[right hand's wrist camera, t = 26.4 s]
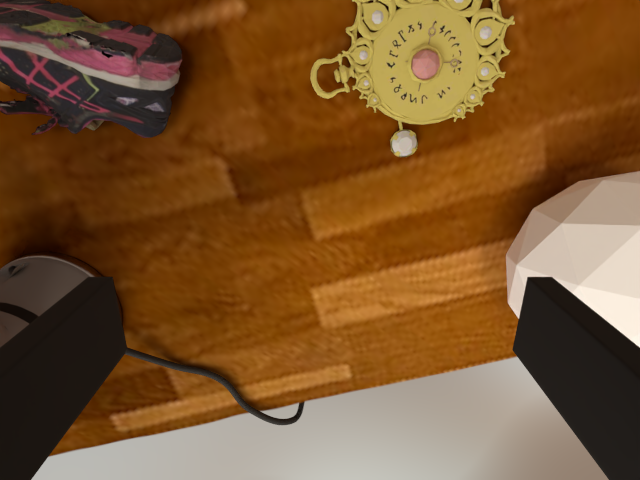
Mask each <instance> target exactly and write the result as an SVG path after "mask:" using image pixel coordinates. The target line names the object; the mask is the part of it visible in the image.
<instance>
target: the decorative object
mask: <svg viewBox="0 0 640 480" xmlns="http://www.w3.org/2000/svg"><path fill="white" fill-rule="evenodd" d="M352 1H354V2H356V3H357V5H358V10H357V15H356V19H355V23H354V24H353V26H352V27H347V28H346V33H347V34H349V35H350V36H351V38H352V44H351V47H350V49H349V50H348V51H347V52H345V51H344V50H343V51H342V53H343V54H342V55H341V54H338V56H337V57H335V58H333V59H325V58H322V59H319V60H317V61H316V62H315V63H314V65H313V67H312V70H311V78H310V79H311V82H312V86H313V88H314V90H315V91H316V93H317V94H318V95H319V96H321V97H323V98H326V99H329V98H331V97H333V96H335V95H336V94H337V93H338V92H343V91H346V92H347V93H348V92H350V89H349V86H348V85H347V84H346V82H347V81H348V79H349V77H351V76H352V77H353V78H354V77H355V78H356V85H355V86H352V87H353V90H355V89H358V90H359V91H360V92H361V96H360V97H359V98H360V99H362V98H364V99H367V103H368V104H367V105H366V106H367V108H368V107H369V106H370V107H373V109H374V112H376V108H378V109H379V110H380V111H381V112H383V113H384V114H386V115H388V116H389V117H391V118H393V119H395V120H398V124H399V129H400V130H399V131H397V132H395V134H394V135H393V137H392V138H391V140H390V144H391V151H392V152H393V153H394V154H395V155H396V156H398V157H408V156H410V155H412V154H413V153H414V152H415V151H416V149H417V145H418V143H417V137H416V135H415V133H414V132H412V131H411V130H405V129H403V128H402V123H401V122H405V123H409V124H430V123H437V122H441V121H443V120H446V119H449V118H452V117H455V119H454V122H455V121H456V119H457V118H458V117H462V119H464V118H465V116H464V115H465V112H466V111H470V112H472V113H473V112H474V109H473V107H474V106H476V105H478V104H480V105H481V106H482V105H483V103H484V102H482V97H483V95H484V94H485V93H487V92H493V91H494V90H495V89H494V88H493V87H492V83H493V82H494V81H495V80H496V79H497V78H498V77H502V78H504V77H505V76H504V74H505V73H506V72H501V71H500V68H499V64H498V62H499V61H500V60H501V58H502V57H504V56H506V55H508V54H509V52H510V50H508V49H507V48H506V47H505V45H504V41H503V39H504V37H505V33H506V29H507V27H508V26H509V25H510V24H515V21H513V18H514V17H513V16H511V17H510V18H509V19H504V18H503V17H502V14H501V8H500V5H499V2H498V1H499V0H491V2H492V5H493V11H492V10H491V9H490V8H484V9H480V6H481V3H482V1H483V0H473V2H472V5H471V7H469V8H468V9H466V10H463V9H465V8H466V7H467V6H468V5H469V4H470V2H471V1H472V0H439V1H434V0H405V1H404V0H373V3H368V2H369V1H370V0H352ZM378 1H380V2H382V3H383V4H385V5H387V6H388V7H389V12H388V11H387V9H386V7H385V6H384V5H382V4H380V3H379V2H378ZM361 2H362V4H361ZM396 5H397V6H398V7H401V8H399V9H398V10H396ZM479 9H480V10H479ZM461 10H462V11H461ZM362 14H363V15H364V16H363V17H362ZM388 16H389V17H388ZM471 16H472V19H471V24H470V23H469V22H468V21H467V19H466V18H465V17H471ZM486 17H492V19H486V20H481V21H479V19H482V18H486ZM495 18H496V21H495ZM363 19H364V22H365V23H366V25H367V26H368V28H369V29H370V30H372V31H377V32H370V31H369V30H368V28H367V27H366V25H365V24H364V22H363V21H362V20H363ZM478 21H479V22H478ZM477 22H478V23H477ZM504 23H505V24H504ZM476 24H477V25H476ZM503 26H504V27H503ZM352 30H353V31H352ZM358 30H359V33H360V34H361V35H362V36H363V38H359V39H357V31H358ZM349 31H352V33H351V32H349ZM496 38H497V41H496V42H494V43H493V44H492V45H491V46H489V47H488V48H483V47H481V46H486V45H489V44H490V43H492V42H493V41H495V39H496ZM356 39H357V40H356ZM371 40H373V41H372V42H371ZM363 44H366V45H367V46H368V47H369V48H368V47H366V46H364V45H363ZM358 45H362V46H360V47H357V46H358ZM501 50H503V51H504V52H505V53H504V54H501ZM350 52H351V53H350ZM494 52H495V57H494V56H493V55H491V54H493V53H494ZM479 53H480V54H481V55H483V56H482V57H481V58H480V59H479ZM344 56H346V57H347V58H348V60H349V62H350V64H351V67H350V68H347V67H346V66H344V65H343V66H342V57H344ZM351 57H352V58H351ZM336 61H339V64H340V67H339V71H338V70H337V69H336V70H335V71H334V75H335V80H336V81H337V83H338V82H340V80H341V81H342V83H344V88H340V89H336V90H334V91H333V92H331V93H326V92H324V91H323V90H322V89H321V88H320V87H319V85H318V82H317V71H318V69H319V67H320V65H322V64H329V63H334V62H336ZM485 61H488V62H485ZM482 62H485V63H482ZM489 62H490V63H492V64H490V63H489ZM358 64H359V65H358ZM365 64H366V65H365ZM361 65H365V67H364V66H361ZM496 69H497V71H498V72H496ZM353 70H354V71H355V73H354V71H353ZM367 71H368V73H367ZM495 75H496V76H495ZM364 76H366V77H364ZM494 76H495V77H494ZM492 77H494V78H493V79H492V80H491V78H492ZM479 80H481V82H480V81H479ZM474 83H475V86H474V87H472V86H473V84H474ZM486 87H489V89H487V90H485V88H486ZM368 88H369V89H368ZM474 90H476V91H474ZM371 92H372V93H371ZM364 94H365V95H366V96H367V97H366V96H364ZM363 96H364V97H363ZM479 96H480V98H479ZM462 102H463V104H462ZM475 102H477V103H475ZM467 107H471V108H470V109H471V110H470V109H466V108H467Z"/></svg>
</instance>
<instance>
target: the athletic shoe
mask: <svg viewBox="0 0 640 480" xmlns="http://www.w3.org/2000/svg"><path fill="white" fill-rule="evenodd" d="M181 62H182V51H181V49H180V47H179V46H178V44H177V43H176V42H175V41H174V40H173V39H172V38H171V37H170V36H168V35H165V34H162V33H159V34H158V35H157V34H156V33H155V32H154V31H153V30H152V29H151V28H149V27H147V26H143V25H140V24H139V25H137V26H135V27H133V26H132V25H131V24H130V23H128V22H123V21H119V20H117V21H116V20H113V21H110V22H107V23H106V22H104V23H103V24H102V23H96V22H95V21H93V20H91V19H90V18H88V17H87V16H85V15H84V14H82V12H81V10H79V9H78V8H73V7H72V5H70V6H64V5H63V4H61V3H59V2H58V3H54V4H51V3H50V2H49V1H45V0H0V81H1V82H2V83H4V84H6V85H8V86H10V88H11V89H15V90H16V91H17V92H19V93H24V94H30V95H31V96H26V100H25V101H7V102H2V101H0V111H1V112H2V113H4V114H43V115H47V116H52V117H53V118H51V119H50V120H49V121H48V122H47V124H43V125H41V126H38V127H37V129H36V132H35V133H32V135H35V134H41V133H43V132H46V131H48V130H50V129H51V128H52V127H53V126H55V125H56V123H57V122H58V124H59V125H60V126H61V127H67V128H68V129H69V131H70V132H71V133H76V134H77V133H78V132H79V131H81V130H82V129H83V128H84V127H87V128H89V129H92V130H95V129H97V128H98V127H99V126H100V125H101V124H102V123H103V122H104V121H105V120H106V121H113V122H115V123H117V124H120V125H122V126H125V127H126V128H128V129H129V130H131V131H132V132H134V133H136V134H137V135H139V136H141V137H143V138H147V137H154V136H156V135H158V134H160V133H162V132H163V130H164V129H165V127H166V125H167V121H168V117H169V115H170V114H171V113H170V110H171V106H172V101H171V98H170V97H171V96H172V95H173V94H174V92H175V84H176V83H178V80H179V76H180V72H179V67H180V64H181ZM14 100H15V99H14Z"/></svg>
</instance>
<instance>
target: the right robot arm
mask: <svg viewBox="0 0 640 480" xmlns="http://www.w3.org/2000/svg"><path fill="white" fill-rule="evenodd" d="M513 351H514V352H515V354H516V355H517V357H518V358H519V359H520V361H521V362H522V363H523V365H524V366H525V367H526V369H527V370H528V371H529V373H530V374H531V375H532V377H533V378H534V379H535V381H536V382H537V383H538V385H539V386H540V387H541V389H542V390H543V391H544V393H545V394H546V396H547V397H548V398H549V400H550V401H551V402H552V404H553V405H554V406H555V408H556V409H557V410H558V412H559V413H560V414H561V416H562V417H563V418H564V420H565V421H566V422H567V424H568V425H569V426H570V428H571V429H572V430H573V432H574V433H575V435H576V436H577V437H578V439H579V440H580V441H581V443H582V444H583V445H584V447H585V448H586V449H587V451H588V452H589V453H590V455H591V456H592V457H593V459H594V460H595V461H596V463H597V464H598V465H599V467H600V468H601V469H602V471H603V472H604V474H605V475H606V476H607V478H608V479H609V480H640V347H639V346H637V345H636V344H635V343H634V342H632V341H631V340H630V339H629V338H627V337H626V336H625V335H624V334H622V333H621V332H620V331H619V330H617V329H616V328H615V327H614V326H612V325H611V324H610V323H609V322H607V321H606V320H605V319H604V318H602V317H601V316H600V315H599V314H597V313H596V312H595V311H594V310H592V309H591V308H590V307H589V306H587V305H586V304H585V303H584V302H582V301H581V300H580V299H579V298H577V297H576V296H575V295H574V294H573V293H571V292H570V291H569V290H568V289H566V288H565V287H564V286H563V285H561V284H560V283H559V282H558V281H556V280H555V279H554V278H553V277H527V282H526V287H525V292H524V297H523V302H522V306H521V311H520V316H519V321H518V326H517V331H516V336H515V341H514V346H513ZM124 354H127V355H130V356H133V357H136V358H139V359H142V360H146V361H149V362H152V363H155V364H158V365H162V366H165V367H168V368H172V369H175V370H179V371H184V372H189V373H195V374H200V375H204V376H207V377H210V378H212V379H214V380H216V381H218V382H220V383H221V384H222V385H224V386H225V387H226V388H227V389H228V390H229V391H230V393H231V394H232V395H233V397H234V398H235V400H236V401H237V402H238V403H239V405H240V406H241V407H242V408H244V409H245V410H246V411H248V412H249V413H251V414H253V415H255V416H256V417H258V418H260V419H262V420H264V421H267V422H269V423H272V424H277V425H288V424H292V423H294V422H296V421H297V420H298V419H299V418H300V417H301V415H302V412H303V408H304V403H305V402H301V403H299V406H298V410H297V413H296V415H295V416H293V417H291V418H289V419H278V418H273V417H271V416H268V415H266V414H264V413H262V412H260V411H258V410H256V409H255V408H253V407H251V406H250V405H249V404H247V403H246V402H245V401H244V400H243V399H242V397H241V396H240V395H239V393H238V392H237V390H236V389H235V388H234V386H233V385H232V384H231V383H230V382H229V381H228V380H226V379H225V378H223V377H222V376H220V375H218V374H216V373H214V372H211V371H209V370H205V369H201V368H197V367H191V366H186V365H181V364H177V363H174V362H170V361H167V360H164V359H161V358H158V357H154V356H151V355H148V354H145V353H142V352H139V351H136V350H133V349H130V348H127V346H126V341H125V336H124V331H123V326H122V310H121V306H120V302H119V300H118V297H117V295H116V292H115V287H114V282H113V277H103V276H102V275H101V274H100V273H98V272H97V271H96V270H95V269H93V268H92V267H90V266H89V265H87V264H86V263H84V262H82V261H80V260H78V259H76V258H73V257H70V256H67V255H63V254H59V253H52V252H38V253H31V254H28V255H24V256H22V257H19V258H18V259H16V260H14V261H12V262H10V263H8V264H7V265H5V266H4V267H2V268H1V269H0V480H31V479H32V477H33V476H34V475H35V474H36V472H37V471H38V470H39V468H40V467H41V465H42V464H43V463H44V461H45V460H46V459H47V457H48V456H49V455H50V453H51V452H52V451H53V449H54V448H55V447H56V445H57V444H58V443H59V441H60V440H61V439H62V437H63V436H64V435H65V433H66V432H67V430H68V429H69V428H70V426H71V425H72V424H73V422H74V421H75V420H76V418H77V417H78V416H79V414H80V413H81V412H82V410H83V409H84V408H85V406H86V405H87V404H88V402H89V401H90V400H91V398H92V397H93V396H94V394H95V393H96V391H97V390H98V389H99V387H100V386H101V385H102V383H103V382H104V381H105V379H106V378H107V377H108V375H109V374H110V373H111V371H112V370H113V369H114V367H115V366H116V365H117V363H118V362H119V361H120V359H121V358H122V357H123V355H124Z"/></svg>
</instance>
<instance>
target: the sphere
mask: <svg viewBox="0 0 640 480" xmlns="http://www.w3.org/2000/svg"><path fill="white" fill-rule="evenodd" d="M506 269H507V292H508V304H509V305H510V307H511V308H512V310H513V311H514V313H515V314H516V315H517V317H518V318H519V316H520V311H521V306H522V302H523V297H524V292H525V287H526V282H527V277H553V278H554V279H555V280H556V281H558V282H559V283H560V284H561V285H563V286H564V287H565V288H566V289H568V290H569V291H570V292H571V293H573V294H574V295H575V296H576V297H577V298H579V299H580V300H581V301H582V302H584V303H585V304H586V305H587V306H589V307H590V308H591V309H592V310H594V311H595V312H596V313H597V314H599V315H600V316H601V317H602V318H604V319H605V320H606V321H607V322H609V323H610V324H611V325H612V326H614V327H615V328H616V329H617V330H619V331H620V332H621V333H622V334H624V335H625V336H626V337H627V338H629V339H630V340H631V341H632V342H634V343H635V344H636V345H637V346H639V347H640V171H637V172H631V173H625V174H619V175H613V176H607V177H601V178H595V179H589V180H583V181H578V182H577V183H575V184H573V185H572V186H570V187H568V188H567V189H565V190H563V191H562V192H560V193H558V194H557V195H555V196H553V197H552V198H550V199H548V200H547V201H545V202H543V203H542V204H540V205H538V206H537V207H535V208H533V209H532V211H531V213H530V214H529V216H528V218H527V219H526V221H525V223H524V225H523V226H522V228H521V230H520V231H519V233H518V235H517V236H516V238H515V240H514V241H513V243H512V245H511V247H510V248H509V250H508V252H507V253H506Z"/></svg>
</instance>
